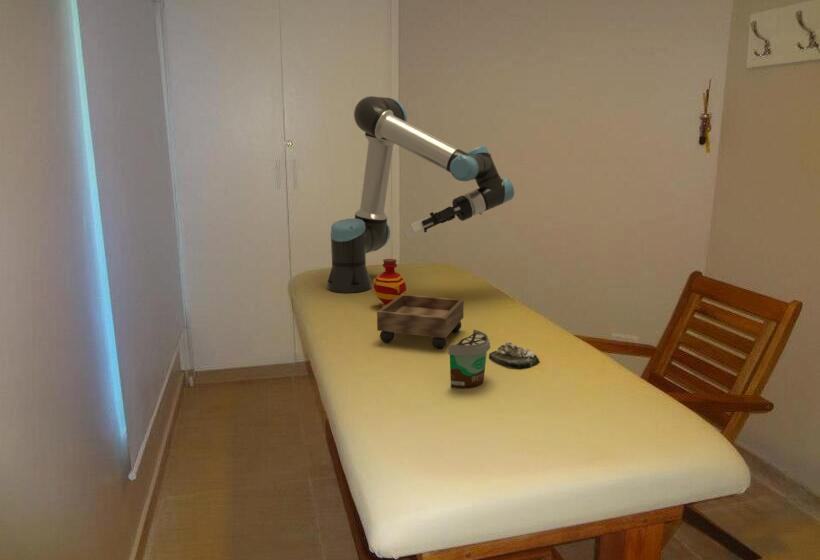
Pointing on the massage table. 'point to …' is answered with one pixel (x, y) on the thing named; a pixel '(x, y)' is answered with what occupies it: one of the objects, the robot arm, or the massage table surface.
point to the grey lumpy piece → (514, 357)
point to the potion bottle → (389, 283)
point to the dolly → (420, 318)
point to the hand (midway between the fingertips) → (408, 231)
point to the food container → (468, 361)
